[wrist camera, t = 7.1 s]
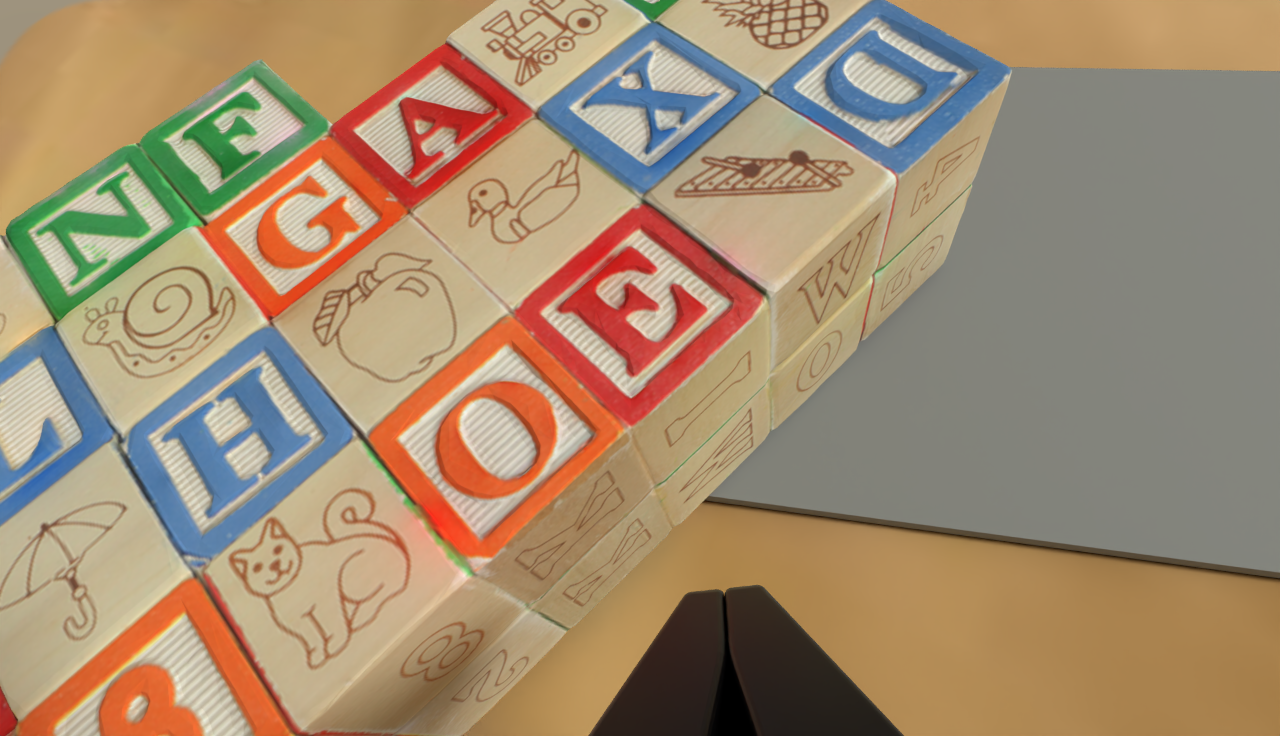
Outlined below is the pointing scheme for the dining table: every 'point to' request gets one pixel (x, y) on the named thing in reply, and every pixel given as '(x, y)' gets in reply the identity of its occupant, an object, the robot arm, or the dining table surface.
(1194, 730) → the dining table surface
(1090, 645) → the dining table surface
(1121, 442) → the mat
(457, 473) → the stack of blocks
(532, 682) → the dining table surface
